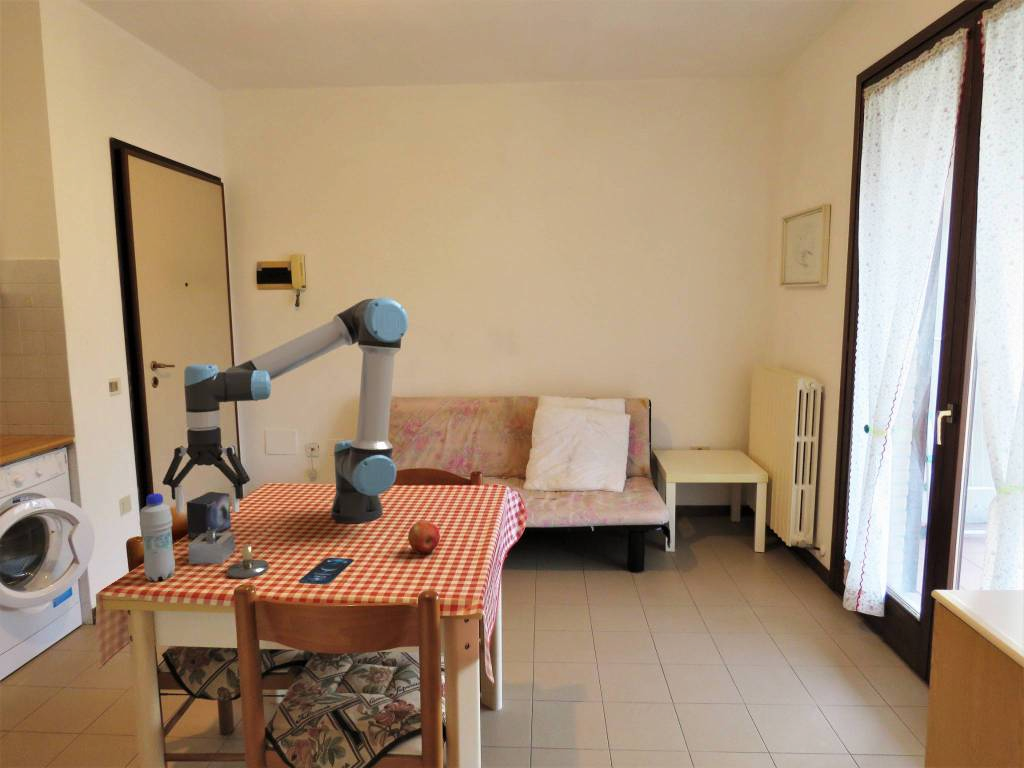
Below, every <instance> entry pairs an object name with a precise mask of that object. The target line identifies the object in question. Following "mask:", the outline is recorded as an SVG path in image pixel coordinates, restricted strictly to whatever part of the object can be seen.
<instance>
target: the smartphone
mask: <svg viewBox="0 0 1024 768" xmlns="http://www.w3.org/2000/svg"><path fill="white" fill-rule="evenodd" d="M354 562H355V559H353V558H344V557H343V558H342V557H326V558H325V559H323V560H322V561H321V562H319V563H318V564H317V565H316V566H315V567H313V568H312V569H310V570H309V571H308V572H307V573H306V574H305V575H303V576H302V577H301V578H300V579H299V580H298V582H299V583H300V584H314V585H329V584H331V583H332V582H333V581H335V580H336V578H338V577H339V576H340V575H341V574H342V573H343V572H344V571H345V570H346V569H348V567H349V566H350V565H351V564H353V563H354Z"/></svg>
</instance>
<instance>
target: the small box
mask: <svg viewBox="0 0 1024 768" xmlns="http://www.w3.org/2000/svg"><path fill="white" fill-rule="evenodd" d="M230 502H231V501H230V493H227V492H226V493H225V492H214V491H209V492H207V493H205V494H203V495H201V496H199V497H198V496H197V497H196V498H194V499H191V500H189V501H186V502H185V503H186V518H187V520H186V521H187V539H188V540H194V539H196V538H197V537H198V536H199V535H201V534H202V533H206V531H207V530H210V529H215V530H216V533H225V532H227V531H228V530H230V529H232V527H231V525H232V524H231V523H232V522H231V507H230V506H231V505H230Z"/></svg>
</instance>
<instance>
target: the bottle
mask: <svg viewBox="0 0 1024 768" xmlns="http://www.w3.org/2000/svg"><path fill="white" fill-rule="evenodd" d="M145 500H146V505H145V506H144V507H142V508H141V509H140V513H139V515H140V517H139V526H140V531H141V532H142V547H143V565H144V566H143V570H144V574H145V577H146V579H147V580H148V581H149V582H150V581H154V582H159V578H160V577H161V578H162V580H163V581H165V580H166V579H168V578H172V577H173V575H174V574H175V569H176V562H175V555H174V550H173V548H174V547H173V534H172V526H173V516H172V515H173V514H172V511H171V507H170V505H169V504H166V503H164V497H163V494H161V493H151V494H148V495H147V496H146V499H145Z"/></svg>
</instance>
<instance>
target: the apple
mask: <svg viewBox="0 0 1024 768" xmlns="http://www.w3.org/2000/svg"><path fill="white" fill-rule="evenodd" d="M407 536H408V537H407V538H408V539H407V540H408V544H409V545H410V547H411V548H412V550H413V551H414V552H416V553H418V554H421V555H424V554H429V553H431V552H432V551H434V550H435V549H436V548H437V547H438V545H439V544H440V540H441V535H440V531H439V529H438V527H437V526H436V524H435V523H433V522H431V521H429V520H425V519H424V520H423V519H421V520H418V521H417V522H415V523H413V524H412V526H411V527H410V528H409V531H408V535H407Z"/></svg>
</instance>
